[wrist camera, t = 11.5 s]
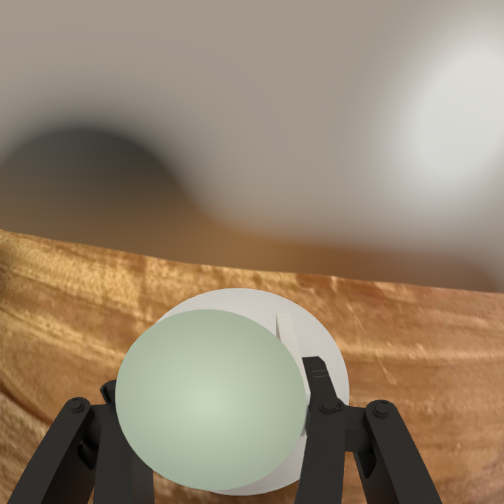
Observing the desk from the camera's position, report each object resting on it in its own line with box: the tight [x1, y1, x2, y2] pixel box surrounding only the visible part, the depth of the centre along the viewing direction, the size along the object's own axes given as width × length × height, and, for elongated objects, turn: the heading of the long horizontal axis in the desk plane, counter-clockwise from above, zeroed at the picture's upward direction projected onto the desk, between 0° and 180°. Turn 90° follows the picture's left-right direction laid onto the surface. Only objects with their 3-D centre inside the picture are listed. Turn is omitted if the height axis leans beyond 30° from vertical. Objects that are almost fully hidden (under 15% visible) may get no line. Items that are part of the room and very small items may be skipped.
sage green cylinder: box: [115, 309, 306, 491], centre depth 11 cm, size 5×5×12 cm
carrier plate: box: [155, 288, 349, 495], centre depth 22 cm, size 20×20×3 cm
